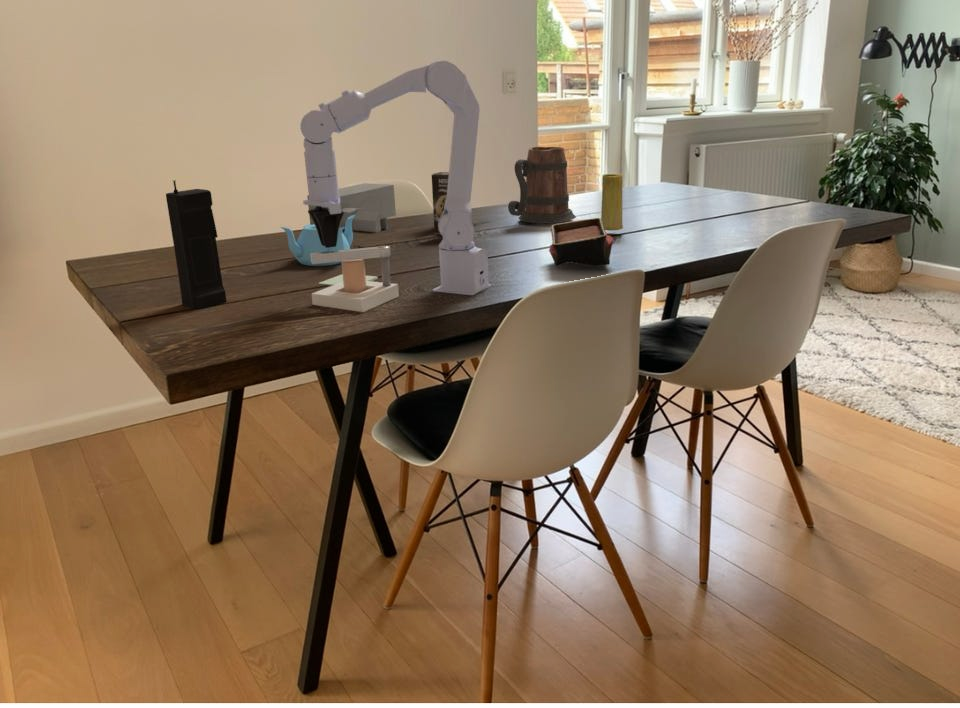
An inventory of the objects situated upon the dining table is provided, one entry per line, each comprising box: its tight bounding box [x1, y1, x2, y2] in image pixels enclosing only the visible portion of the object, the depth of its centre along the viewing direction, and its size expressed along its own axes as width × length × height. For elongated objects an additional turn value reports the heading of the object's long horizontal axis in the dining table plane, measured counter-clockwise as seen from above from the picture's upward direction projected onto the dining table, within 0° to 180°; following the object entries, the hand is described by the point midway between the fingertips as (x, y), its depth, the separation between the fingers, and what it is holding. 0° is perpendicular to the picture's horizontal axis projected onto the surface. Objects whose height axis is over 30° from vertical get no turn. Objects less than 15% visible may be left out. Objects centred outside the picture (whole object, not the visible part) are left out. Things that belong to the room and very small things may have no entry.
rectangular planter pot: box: [548, 217, 614, 267], centre depth 184 cm, size 14×18×10 cm
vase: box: [600, 173, 624, 231], centre depth 218 cm, size 6×6×14 cm
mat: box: [318, 273, 379, 287], centre depth 175 cm, size 9×9×1 cm
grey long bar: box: [311, 245, 391, 264], centre depth 157 cm, size 15×2×2 cm, turn 107°
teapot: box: [280, 215, 355, 267], centre depth 193 cm, size 15×15×10 cm
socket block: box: [311, 256, 400, 313], centre depth 159 cm, size 12×12×8 cm
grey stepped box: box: [307, 182, 397, 233], centre depth 233 cm, size 25×23×11 cm
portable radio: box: [165, 179, 227, 310], centre depth 156 cm, size 8×6×25 cm
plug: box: [340, 259, 367, 294], centre depth 159 cm, size 4×4×8 cm
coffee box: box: [431, 171, 449, 235], centre depth 220 cm, size 9×6×16 cm
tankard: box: [507, 146, 576, 224], centre depth 235 cm, size 24×17×20 cm
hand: (329, 246), depth 160 cm, fingers closed
